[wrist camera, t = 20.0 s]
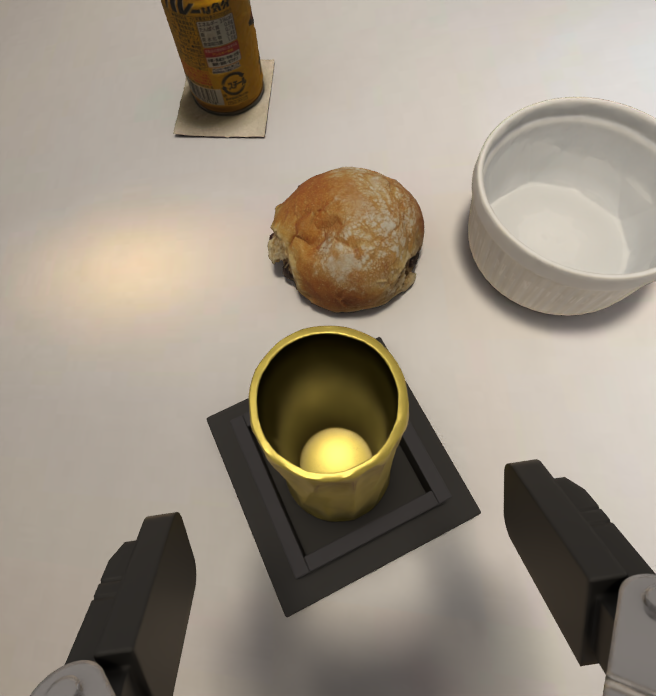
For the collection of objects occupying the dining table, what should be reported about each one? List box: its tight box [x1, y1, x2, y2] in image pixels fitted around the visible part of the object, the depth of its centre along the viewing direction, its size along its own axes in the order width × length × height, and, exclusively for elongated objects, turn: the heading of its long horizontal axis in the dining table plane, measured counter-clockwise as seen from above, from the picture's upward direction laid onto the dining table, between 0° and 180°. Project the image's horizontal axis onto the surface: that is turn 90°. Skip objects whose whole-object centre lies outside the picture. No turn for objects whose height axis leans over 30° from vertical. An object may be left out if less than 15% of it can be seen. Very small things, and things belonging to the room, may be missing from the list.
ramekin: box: [468, 97, 656, 316], centre depth 32 cm, size 13×13×7 cm
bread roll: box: [267, 167, 424, 313], centre depth 34 cm, size 10×10×8 cm
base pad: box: [207, 337, 481, 617], centre depth 29 cm, size 12×12×3 cm
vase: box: [249, 326, 409, 522], centre depth 23 cm, size 6×6×14 cm
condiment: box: [161, 0, 274, 138], centre depth 36 cm, size 7×8×12 cm
